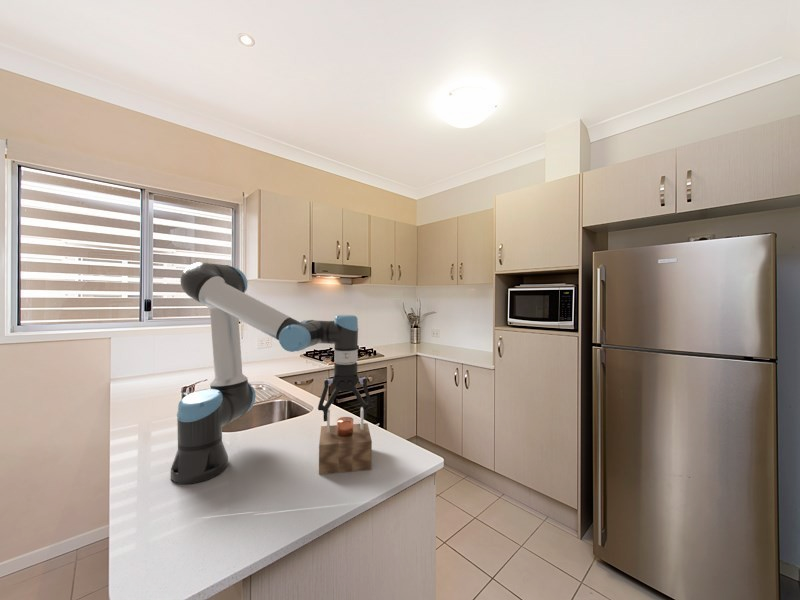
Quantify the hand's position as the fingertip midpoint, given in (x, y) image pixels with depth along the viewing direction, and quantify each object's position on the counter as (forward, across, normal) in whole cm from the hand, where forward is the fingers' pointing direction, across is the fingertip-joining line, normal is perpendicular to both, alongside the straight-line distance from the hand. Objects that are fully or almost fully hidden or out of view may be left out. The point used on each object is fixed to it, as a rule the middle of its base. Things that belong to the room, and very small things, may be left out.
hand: (345, 429), depth 106 cm
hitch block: (+10, 0, 0) cm, 10 cm away
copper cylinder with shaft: (+7, 0, 0) cm, 7 cm away
